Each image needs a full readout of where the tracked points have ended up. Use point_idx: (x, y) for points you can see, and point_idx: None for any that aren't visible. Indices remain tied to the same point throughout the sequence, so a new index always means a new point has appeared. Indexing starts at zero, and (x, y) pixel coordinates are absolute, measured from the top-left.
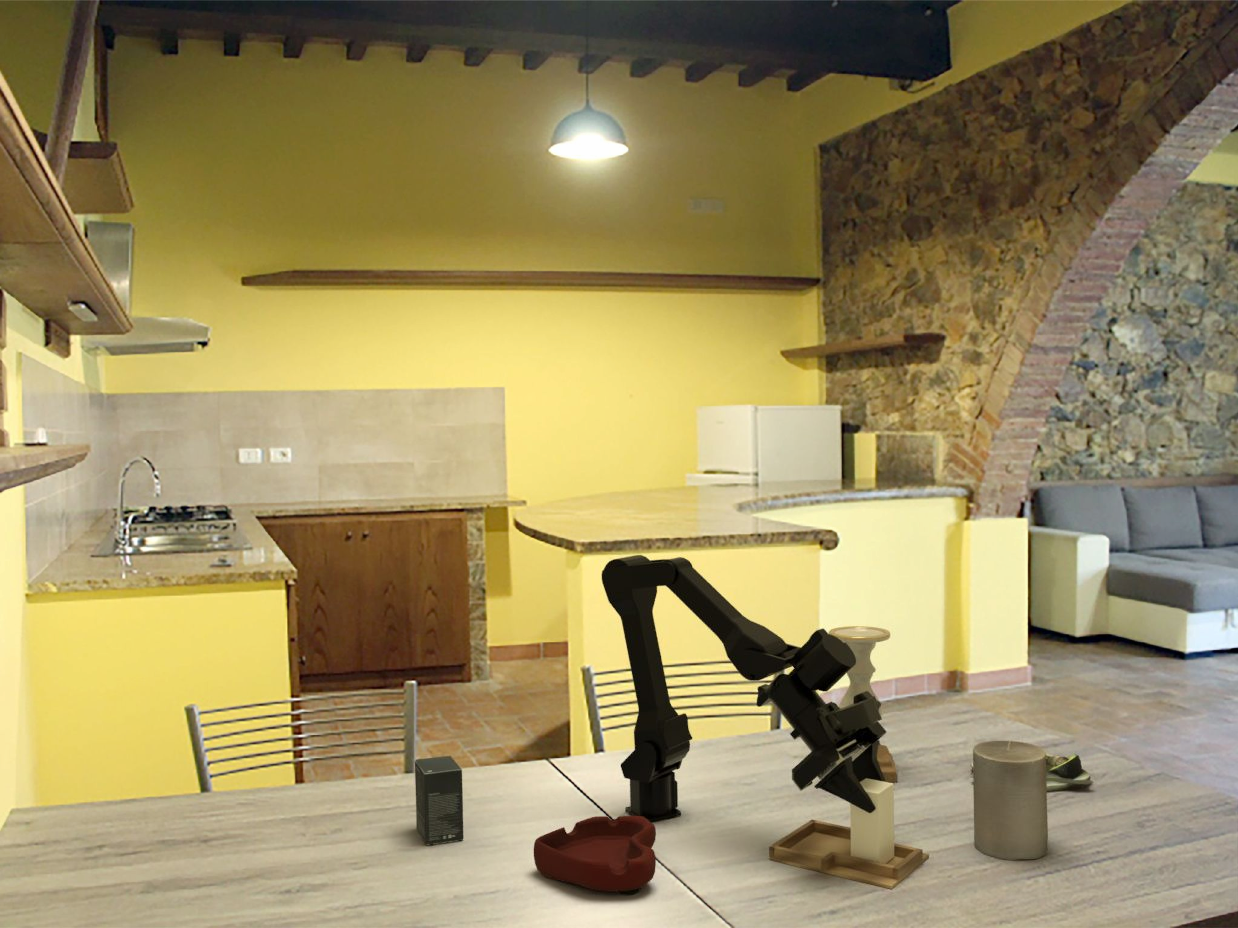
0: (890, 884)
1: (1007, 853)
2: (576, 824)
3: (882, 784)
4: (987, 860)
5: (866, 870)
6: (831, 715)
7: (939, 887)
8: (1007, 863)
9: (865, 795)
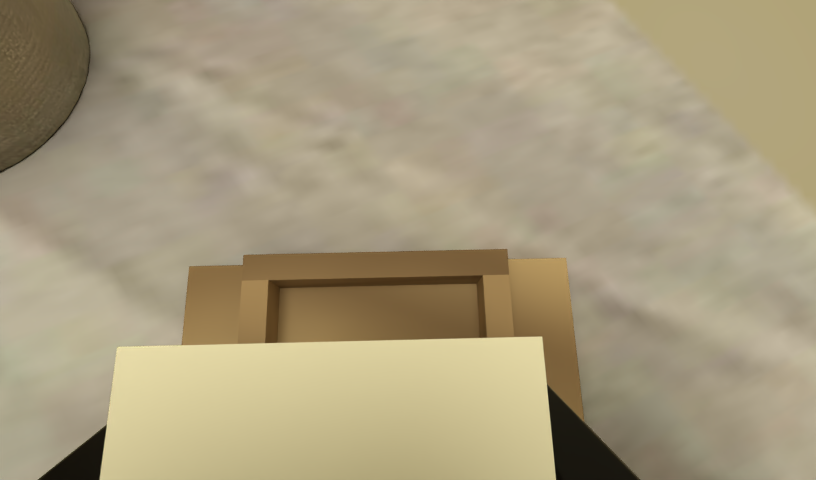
0: (555, 267)
1: (76, 29)
2: None
3: (215, 443)
4: (126, 93)
5: None
6: None
7: (444, 136)
8: (123, 36)
9: (614, 466)
